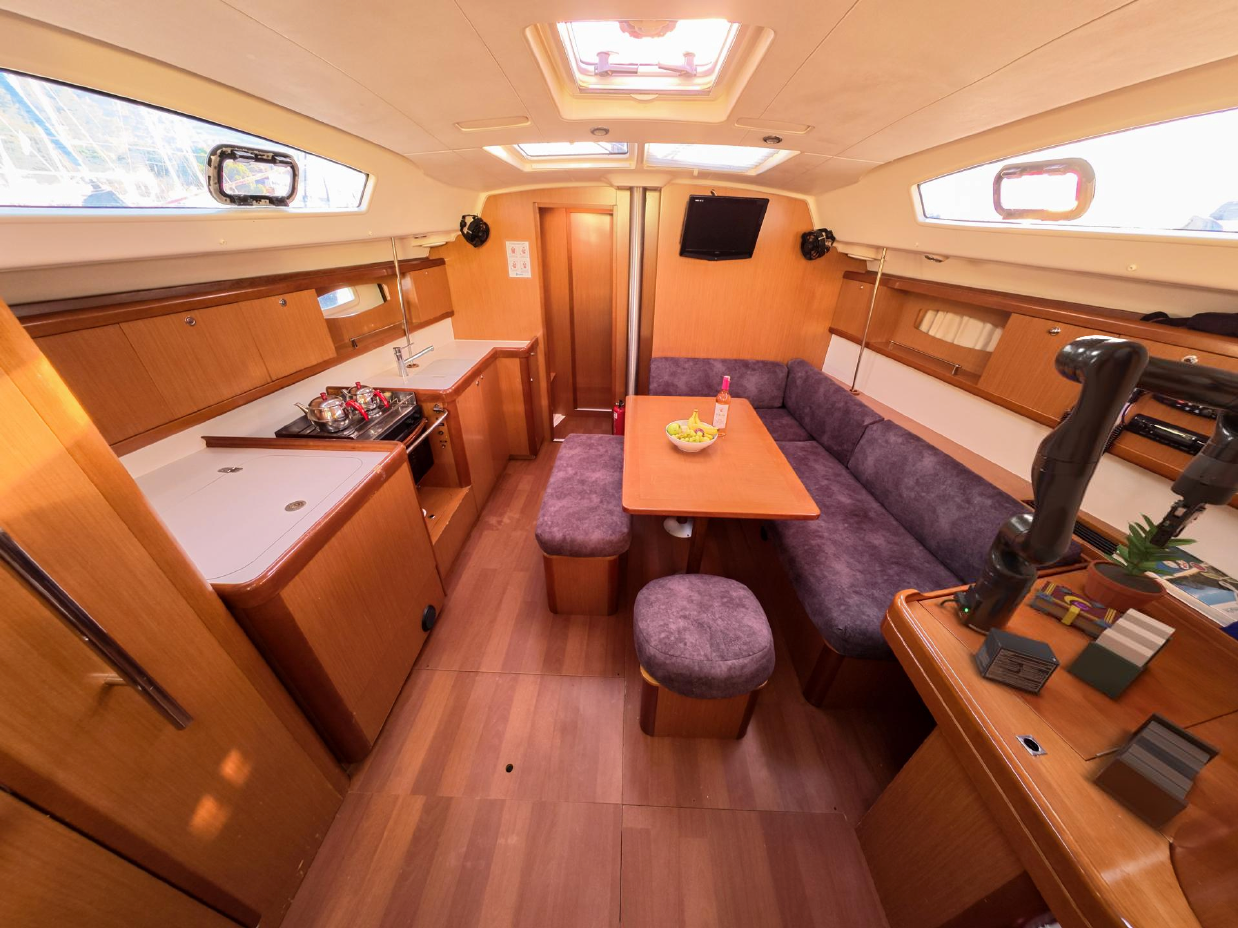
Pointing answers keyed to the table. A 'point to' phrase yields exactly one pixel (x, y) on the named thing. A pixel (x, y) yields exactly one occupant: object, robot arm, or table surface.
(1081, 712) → the table surface
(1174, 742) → the grey book rack
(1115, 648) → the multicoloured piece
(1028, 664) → the small box
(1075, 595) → the decorative book
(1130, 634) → the white book
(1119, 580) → the potted plant
